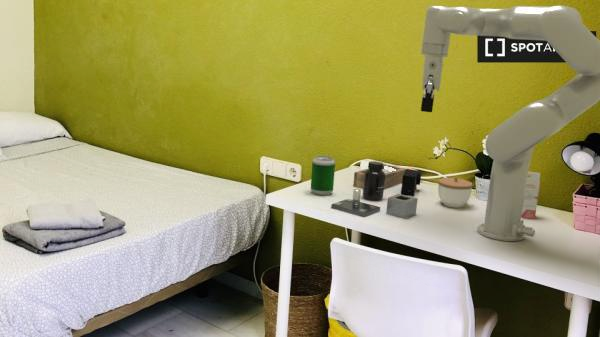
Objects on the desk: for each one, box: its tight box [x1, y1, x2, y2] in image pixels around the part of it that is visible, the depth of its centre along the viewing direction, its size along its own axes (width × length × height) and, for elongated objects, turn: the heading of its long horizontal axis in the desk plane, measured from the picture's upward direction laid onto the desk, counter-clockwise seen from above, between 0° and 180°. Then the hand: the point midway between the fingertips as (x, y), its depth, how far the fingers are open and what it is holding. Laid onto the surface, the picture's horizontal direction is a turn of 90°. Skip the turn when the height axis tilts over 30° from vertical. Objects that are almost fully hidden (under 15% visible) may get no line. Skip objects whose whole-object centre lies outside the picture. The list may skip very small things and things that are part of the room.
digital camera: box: [400, 168, 422, 197], centre depth 208 cm, size 10×5×7 cm, turn 164°
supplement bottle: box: [362, 160, 385, 202], centre depth 197 cm, size 7×7×12 cm
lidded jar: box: [437, 176, 473, 209], centre depth 196 cm, size 11×11×9 cm
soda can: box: [310, 155, 336, 196], centre depth 200 cm, size 8×8×12 cm
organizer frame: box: [352, 163, 407, 190], centre depth 217 cm, size 9×20×5 cm, turn 142°
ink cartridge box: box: [521, 171, 541, 220], centre depth 188 cm, size 9×5×15 cm, turn 68°
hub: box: [385, 193, 418, 220], centre depth 183 cm, size 7×7×5 cm
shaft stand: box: [330, 188, 381, 218], centre depth 185 cm, size 12×9×6 cm
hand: (426, 109), depth 177 cm, fingers open, 9 cm apart
